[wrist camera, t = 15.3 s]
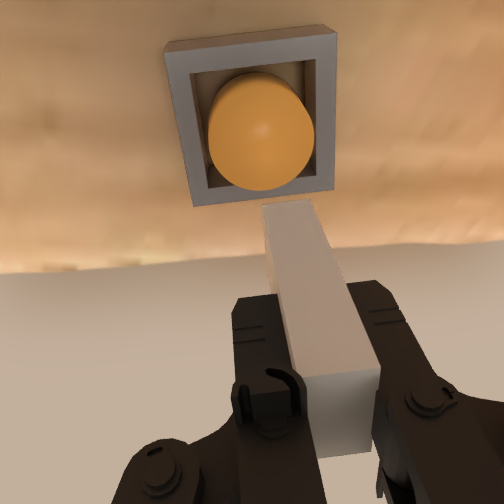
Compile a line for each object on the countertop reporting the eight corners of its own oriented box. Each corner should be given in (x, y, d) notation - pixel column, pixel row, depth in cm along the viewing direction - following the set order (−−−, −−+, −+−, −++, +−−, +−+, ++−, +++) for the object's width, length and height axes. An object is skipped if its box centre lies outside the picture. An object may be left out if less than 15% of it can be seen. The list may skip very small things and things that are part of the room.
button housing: (168, 42, 22) (163, 53, 20) (323, 24, 22) (337, 32, 20) (194, 183, 27) (193, 206, 24) (322, 167, 27) (333, 189, 24)
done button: (201, 78, 21) (200, 94, 19) (301, 66, 21) (313, 81, 19) (215, 171, 24) (216, 196, 22) (303, 161, 24) (314, 184, 22)
